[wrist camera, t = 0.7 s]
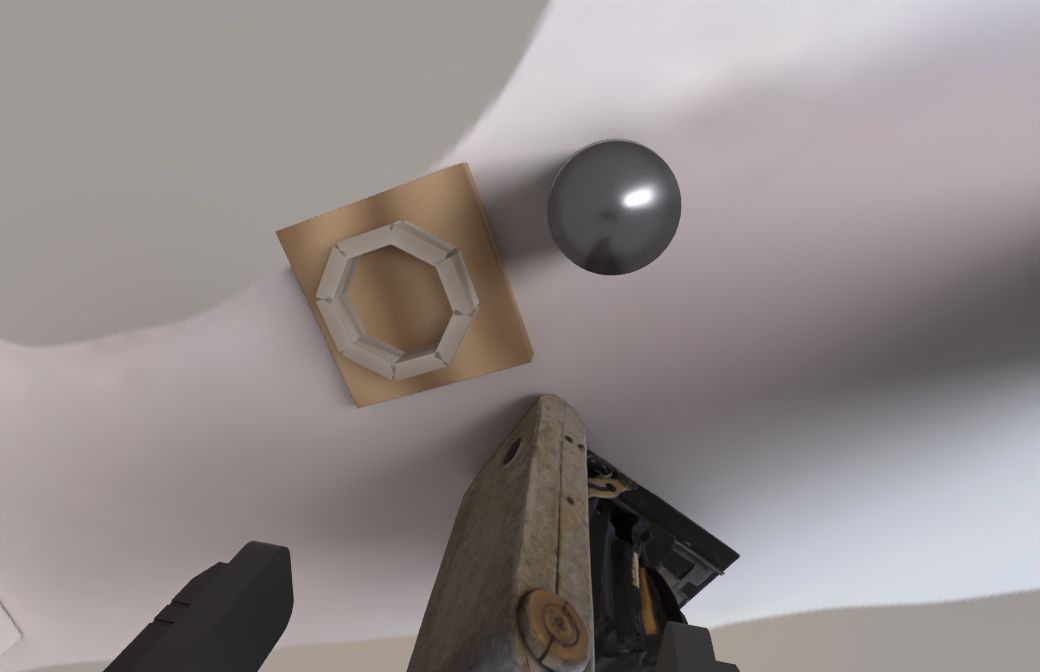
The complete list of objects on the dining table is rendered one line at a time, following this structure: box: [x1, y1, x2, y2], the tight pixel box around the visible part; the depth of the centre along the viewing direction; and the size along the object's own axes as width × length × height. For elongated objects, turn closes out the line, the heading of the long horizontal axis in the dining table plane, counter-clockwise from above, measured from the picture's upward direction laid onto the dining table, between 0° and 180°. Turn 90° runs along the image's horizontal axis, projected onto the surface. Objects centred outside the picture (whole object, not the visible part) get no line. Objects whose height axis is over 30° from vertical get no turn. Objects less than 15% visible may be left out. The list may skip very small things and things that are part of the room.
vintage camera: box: [407, 395, 740, 672], centre depth 27 cm, size 10×16×20 cm, turn 55°
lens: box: [548, 139, 681, 275], centre depth 25 cm, size 5×5×10 cm
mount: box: [276, 163, 534, 408], centre depth 31 cm, size 12×12×4 cm
